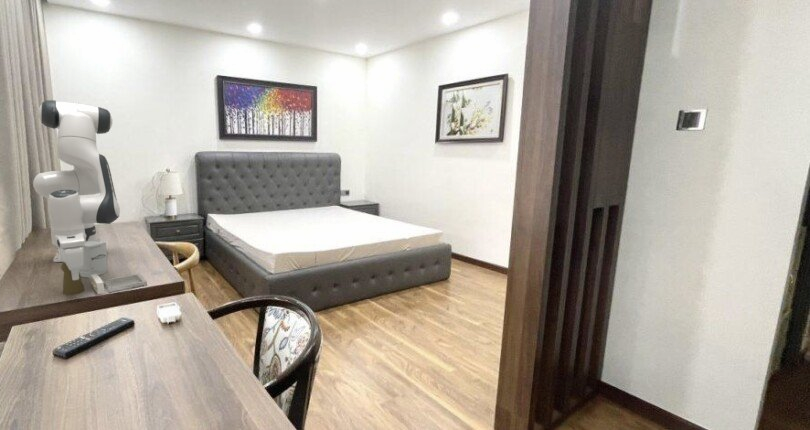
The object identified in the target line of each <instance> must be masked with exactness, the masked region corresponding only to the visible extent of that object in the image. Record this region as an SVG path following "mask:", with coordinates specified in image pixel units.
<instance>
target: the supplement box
mask: <svg viewBox="0 0 810 430" xmlns="http://www.w3.org/2000/svg"><path fill="white" fill-rule="evenodd" d="M108 265H109V264H108V252H107V243H106V242H104V241H101V242H96V241H90V242H85V246H83V268H82V269H79V272H80V276H81V278H82V277H84V278H89V279H91V275H92V274H97V275H98V276H101V275H104V274H107V273H109V266H108Z"/></svg>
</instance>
